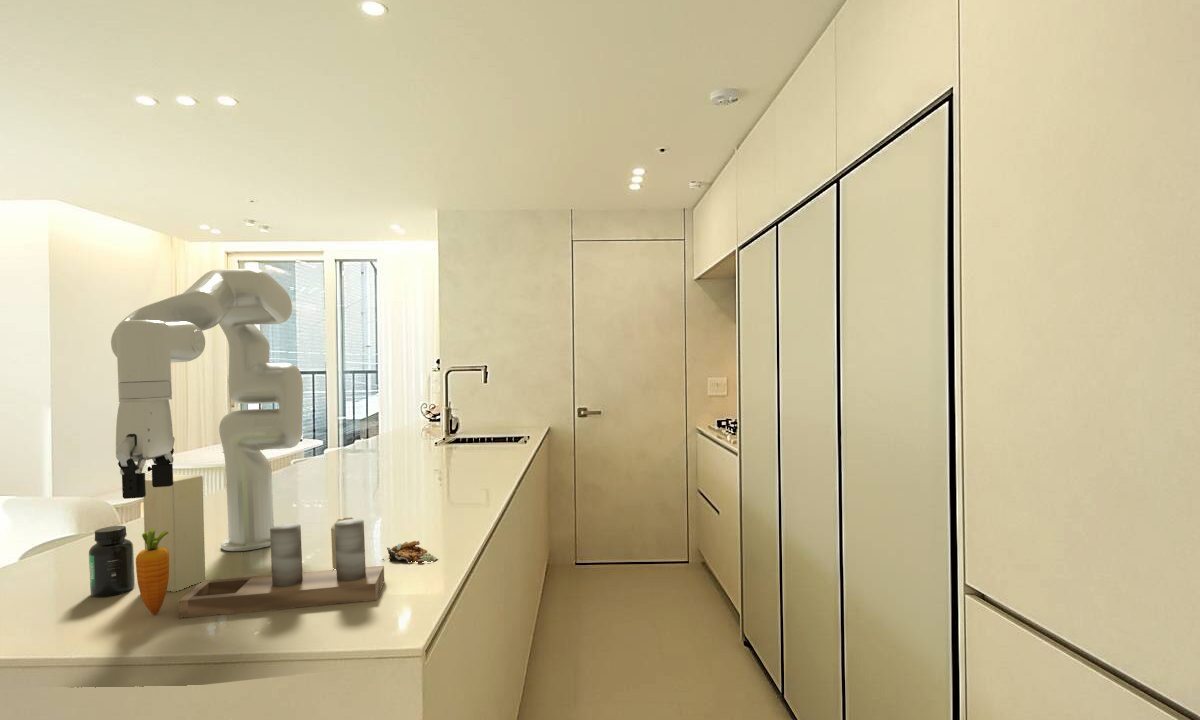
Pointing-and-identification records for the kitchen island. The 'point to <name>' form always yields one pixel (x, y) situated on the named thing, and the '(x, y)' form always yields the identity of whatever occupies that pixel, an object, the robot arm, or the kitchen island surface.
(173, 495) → the beige tall rectangular block
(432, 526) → the kitchen island surface
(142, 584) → the carrot
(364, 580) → the rail
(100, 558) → the supplement bottle
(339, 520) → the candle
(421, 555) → the brown irregular lump
